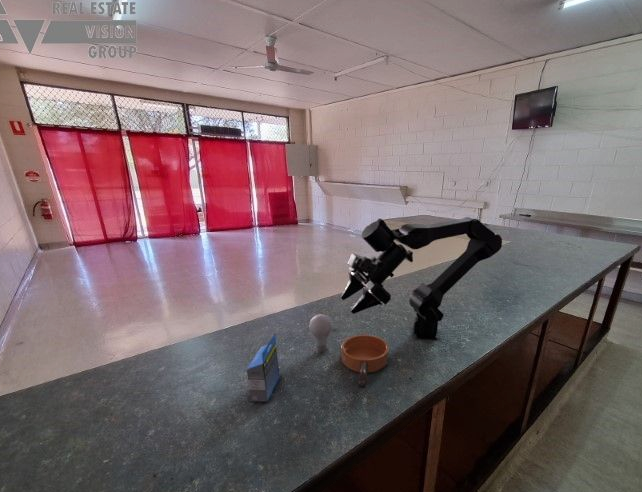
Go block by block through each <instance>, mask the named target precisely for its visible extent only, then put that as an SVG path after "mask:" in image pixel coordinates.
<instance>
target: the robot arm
mask: <svg viewBox="0 0 642 492" xmlns="http://www.w3.org/2000/svg"><path fill="white" fill-rule="evenodd" d="M463 235H466V237H467V238H468V239H469V241H468V243H467V246H466V249H465V250H464V252H463V253H462V254H460V255H459V256H458V257H457V259H455V260H454V261H453V262H452V263H450V265H449V266H448V267H447V268H446V269H445V270H444V271H443V272H442V273H441V274H439V276H437V277H436V278H435V279H434V280H433V281H432V282H431V283H429V284H426V283H424V282H421V283H419V285H418V286H417V287H416V288H414V289H413V290H412V291H411V292H412V293H411V294H410V296H409V301H408V302H409V305H410V307H411V308H412V309H413V312H415V313H416V314H415V317H414V318H413V326H412V327H413V328H412V330H413V334H414V335H415V339H418V340H419V339H420V340H422V339H424V340H438V338H439V337H438V327H439V322H442V320H443V318H444V313H443V312H442V311H441V310H440V309H439V308H440V306H441V305H442V303H443V302H442V301H443V298H444V296H445V295H446V294H447V293H448V292H449V291H450V290H451V289H452V288H453V287H454V286H455V285H457V283H458V282H460V281H461V279H462V278H463V277H464V276H465V275H467V273H469V271H471V269H473V268H474V267H475V266H476V265H477V264H478V263H479V262H481V261H484V260H487V259H490V258H491V257H493V256H494V255H496V254H497V253H498V252H499V251H501V249H502V247H503V239H502V238H503V237H502V236H501V235H500V234H498V233H495V232H494V231H493V230H491V229H490V228H489V227H488V226H486V225H484V224H483V223H482V222H481V221H480V219H478V218H475V217H471V216H466V217H463V218H458V219H453V220H448V221H447V220H446V221H443V222H436V223H432V224H424V223H423V224H422V223H405V224H402V225H401V226H400V228H395V229H391V228H390V227H389V226H388V224H387V223H386V221H385V220H384V219H383V218H380V217H379V218H378V219H377V220H375V221H373V222H371V223H370V224H368V225H367V226H366V227H364V228H363V230H362V232H361V234H360V237H361V238H362V239H363V240H364V242H366V243H367V244H368V245H369V247H370V248H372V249H373V251H374V252H376V253H380V252H381V253H380V254H379V255H378V256H377V257H376V256H372V257H371V258H370V257H367V256H361V255H359V254H357V253H355V252H352V253H351V255H350V256H349V257H350V258H349V259H348V262H347V265H349V267H348V270H349V271H348V278H349V279H348V282H347V285H346V286H345V289H344V290H343V292H342V294H341V296H340V298H341V299H342V300H343V301H345V300H347V299H348V298H350V297H352V296H353V295H355V294H356V293H358V292H359V291H361V290H362V295H361V296H360V297H359V299H358V300H357V302H356V303H355V304H354V305H353V307H352V308H351V309H350V313H351V314H353V315H355V314H357V313H359V312H362V311H364V310H367V309H370V308H374V307H376V306H382V305H383V304H384V305H387V304H388V303H389V302H390V301H391V300H392V299H391V298H392V294H390V292H389V291H388V290H386V289H385V287H384V282H385V281H386V280H387V279H388V278H389V277H390V278H392V279H393V277H394V276H395V274H394V273H393V272H394V271H395V270H396V269H398V267H399V266H400V265H401V264H402V263H403V262H404V261H408V262H409V263H413V262H414V257H413V254H414V251H412V250H419V249H422V248H426V247H427V246H429V245H430V244H431V243H433V242H435V241H439V240H443V239H447V238H452V237H457V236H463ZM395 241H396V242H398V243H399V244H397V243H396V242H395ZM405 246H406V247H408V248H409V250H407V249H406V247H405ZM410 249H411V250H410Z"/></svg>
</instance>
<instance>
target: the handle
mask: <svg viewBox="0 0 642 492" xmlns="http://www.w3.org/2000/svg"><path fill="white" fill-rule="evenodd" d="M367 368H368V364H367V362H365V361H363V362H361V364H360V372H358V381H357V382H358V383H357V385H358V387H359V389H365V388H366V387H367V382H368V373H367Z"/></svg>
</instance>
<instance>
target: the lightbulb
mask: <svg viewBox="0 0 642 492" xmlns="http://www.w3.org/2000/svg"><path fill="white" fill-rule="evenodd" d="M308 325H309V326H308V328H309V331H310V333H311V334H312V336H313V337H314V340H315V341H314V342H315V344H316V350H317V351H318V352H320V353H324V352H326V350H327V344H328V340H329V339H328V338H329V336H330V334H331V333H332V330H333V327H334V326H333V321H332V319H331V318H330V316H328V315H326V314H321V313H319V314H316V315H314V316H313V317H312V318H311V319H310V321H309V324H308Z"/></svg>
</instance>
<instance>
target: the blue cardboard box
mask: <svg viewBox="0 0 642 492" xmlns="http://www.w3.org/2000/svg"><path fill="white" fill-rule="evenodd" d="M246 374H247V382H248V389H249V398H250V402H254V403H255V402H257V403H258V402H259V403H267V402H269V400H270V397H271V395H272V393H273V391H274V389H275V387H276V386H277V384H278V381H279V378H280V368H279V357H278V350H277V333H276V332H274V334H273V335H272V337H271V339H270V340H269V341H268V343H267V344H264V345H262V346H261V347H260V348H259V349H258V351H257V353H256V355H255V356H254V357H253V360H252V361H251V362H250V364H249V365H248V367H247V368H246Z"/></svg>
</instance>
